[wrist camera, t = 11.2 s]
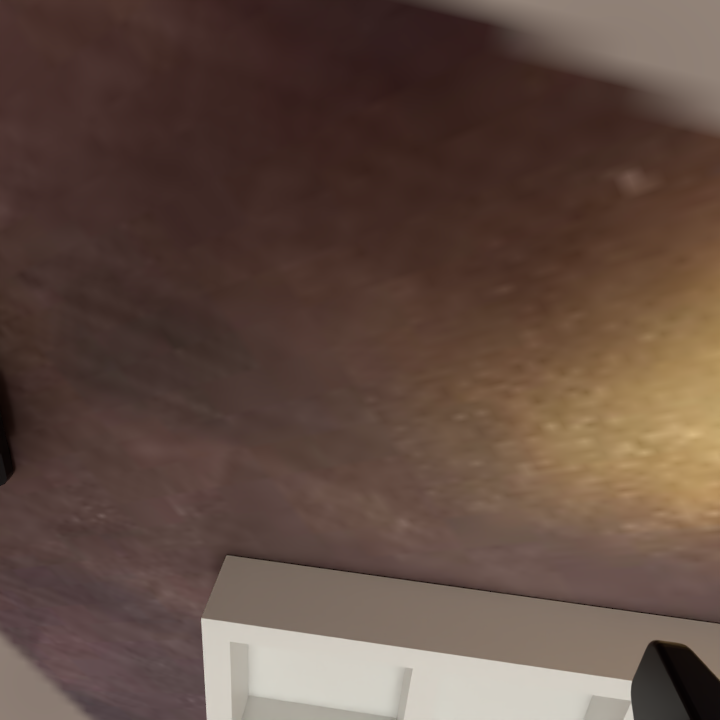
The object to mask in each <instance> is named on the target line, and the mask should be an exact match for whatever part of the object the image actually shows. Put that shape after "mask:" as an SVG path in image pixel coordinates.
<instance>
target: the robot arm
mask: <svg viewBox="0 0 720 720" xmlns="http://www.w3.org/2000/svg"><path fill="white" fill-rule="evenodd" d="M12 475H13V468H12V463H11V459H10V454H9V450H8V445H7V440H6V436H5V431H4V427H3V422H2V418H1V413H0V486H1V485H3V484H5V483H6V482H7V481H8V480H9V479H10V478H11V476H12ZM631 704H632V711H633V718H634V720H720V680H719V679H718V678H717V676H716V675H715V674H714V673H713V672H712V671H711V670H710V669H709V668H708V667H707V666H706V665H705V663H704V662H703V661H702V660H701V659H700V658H699V657H698V656H697V655H696V654H695V653H694V651H692V650H691V649H690V648H689V647H688V646H686V645H684V644H681V643H676V642H669V641H662V640H653V641H651V642H650V643H649V644H648V646H647V647H646V650H645V652H644V654H643V656H642V659H641V661H640V663H639V666H638V668H637V670H636V673H635V675H634V677H633V680H632V684H631Z"/></svg>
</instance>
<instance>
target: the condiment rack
mask: <svg viewBox="0 0 720 720" xmlns="http://www.w3.org/2000/svg"><path fill="white" fill-rule="evenodd" d="M201 623H202V640H203V658H204V676H205V693H206V711H207V720H634V718H633V711H632V704H631V684H632V680H633V677H634V675H635V673H636V670H637V668H638V666H639V663H640V661H641V659H642V656H643V654H644V652H645V650H646V647H647V646H648V644H649V643H650V642H651V641H653V640H662V641H669V642H676V643H681V644H684V645H686V646H688V647H689V648H690V649H691V650H692V651H694V653H695V654H696V655H697V656H698V657H699V658H700V659H701V660H702V661H703V662H704V663H705V665H706V666H707V667H708V668H709V669H710V670H711V671H712V672H713V673H714V674H715V675H716V676H717V678H718V679H719V680H720V624H717V623H710V622H702V621H695V620H688V619H681V618H674V617H667V616H659V615H652V614H645V613H638V612H631V611H624V610H616V609H609V608H602V607H595V606H588V605H581V604H573V603H566V602H559V601H552V600H545V599H538V598H530V597H523V596H516V595H509V594H502V593H495V592H487V591H480V590H473V589H466V588H459V587H452V586H444V585H437V584H430V583H423V582H416V581H409V580H402V579H394V578H387V577H380V576H373V575H366V574H359V573H351V572H344V571H337V570H330V569H323V568H316V567H308V566H301V565H294V564H287V563H280V562H273V561H265V560H258V559H251V558H244V557H237V556H230V555H226V558H225V560H224V563H223V565H222V568H221V570H220V573H219V575H218V578H217V580H216V583H215V585H214V588H213V590H212V593H211V595H210V598H209V600H208V602H207V605H206V607H205V610H204V612H203V615H202V617H201Z"/></svg>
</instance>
